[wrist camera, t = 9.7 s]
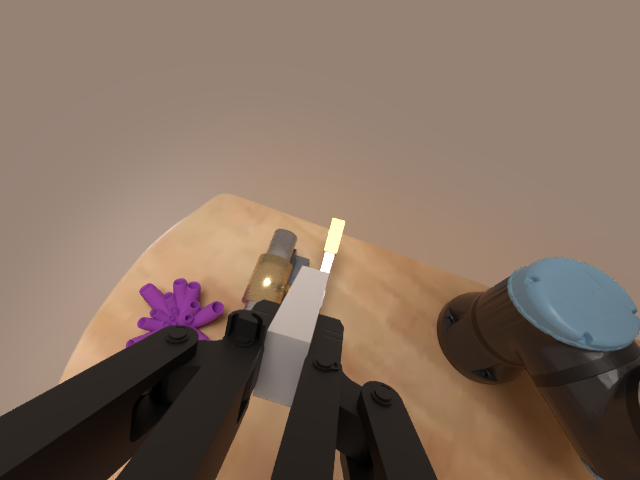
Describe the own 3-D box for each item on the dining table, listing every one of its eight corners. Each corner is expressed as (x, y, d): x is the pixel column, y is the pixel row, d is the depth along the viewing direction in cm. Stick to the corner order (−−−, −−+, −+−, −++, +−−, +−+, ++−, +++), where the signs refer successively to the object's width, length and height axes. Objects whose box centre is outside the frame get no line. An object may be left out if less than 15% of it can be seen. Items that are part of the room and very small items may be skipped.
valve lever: (321, 307, 46) (345, 220, 49) (308, 304, 46) (333, 217, 49) (321, 307, 49) (344, 225, 52) (309, 304, 49) (332, 221, 52)
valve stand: (292, 362, 51) (292, 351, 41) (236, 346, 51) (224, 331, 42) (320, 265, 59) (326, 238, 50) (272, 252, 60) (269, 222, 50)
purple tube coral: (206, 294, 58) (231, 281, 52) (186, 382, 51) (211, 379, 45) (142, 277, 52) (160, 260, 46) (108, 374, 45) (125, 370, 38)
